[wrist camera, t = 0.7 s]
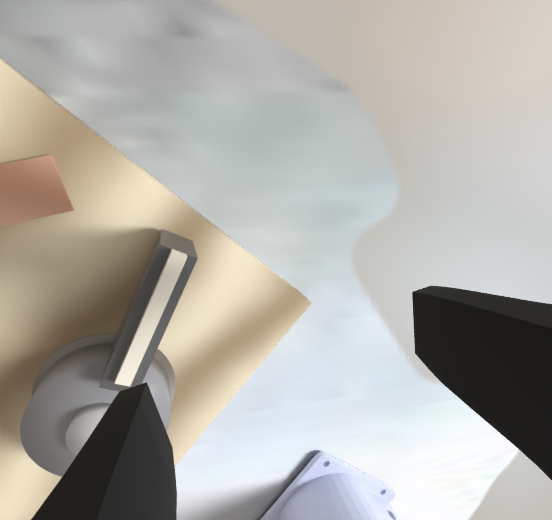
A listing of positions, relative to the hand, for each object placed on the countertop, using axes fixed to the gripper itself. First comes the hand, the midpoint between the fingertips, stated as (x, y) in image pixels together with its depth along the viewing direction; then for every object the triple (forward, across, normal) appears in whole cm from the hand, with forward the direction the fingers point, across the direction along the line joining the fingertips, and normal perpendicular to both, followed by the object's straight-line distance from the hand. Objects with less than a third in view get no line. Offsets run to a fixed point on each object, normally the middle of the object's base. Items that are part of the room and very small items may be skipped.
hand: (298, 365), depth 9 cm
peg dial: (+9, +6, +3) cm, 11 cm away
